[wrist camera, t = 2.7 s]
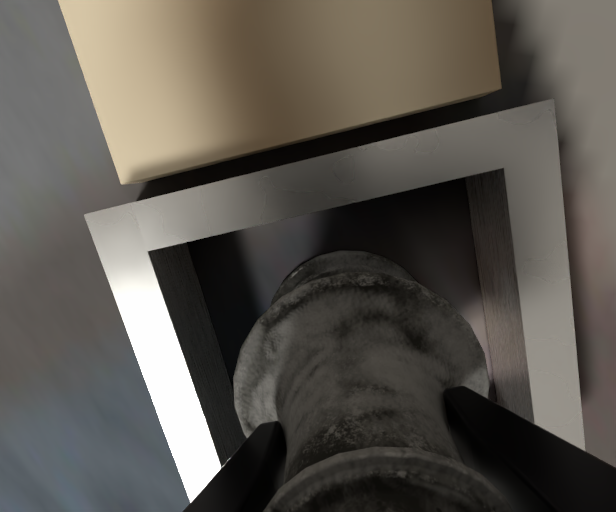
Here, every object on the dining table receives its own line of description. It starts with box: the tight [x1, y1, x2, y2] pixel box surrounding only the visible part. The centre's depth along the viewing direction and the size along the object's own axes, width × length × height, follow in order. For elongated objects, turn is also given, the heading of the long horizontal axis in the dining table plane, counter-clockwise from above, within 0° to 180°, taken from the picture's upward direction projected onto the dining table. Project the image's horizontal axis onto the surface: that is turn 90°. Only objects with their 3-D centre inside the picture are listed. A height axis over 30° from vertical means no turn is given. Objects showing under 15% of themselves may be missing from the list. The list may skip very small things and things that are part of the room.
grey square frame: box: [84, 98, 585, 502], centre depth 11 cm, size 11×11×2 cm
